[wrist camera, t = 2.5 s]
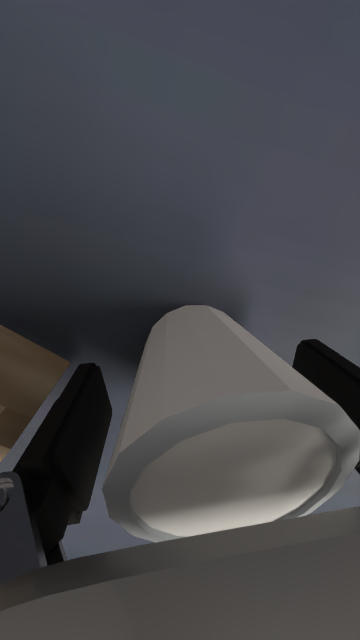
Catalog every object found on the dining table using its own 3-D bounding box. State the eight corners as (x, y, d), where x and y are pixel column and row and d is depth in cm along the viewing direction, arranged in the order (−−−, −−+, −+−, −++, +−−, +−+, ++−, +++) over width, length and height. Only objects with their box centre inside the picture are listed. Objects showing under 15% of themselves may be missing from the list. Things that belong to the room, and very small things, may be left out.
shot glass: (112, 365, 11) (53, 535, 5) (179, 266, 9) (224, 334, 3) (203, 406, 13) (244, 562, 7) (272, 332, 11) (415, 454, 5)
